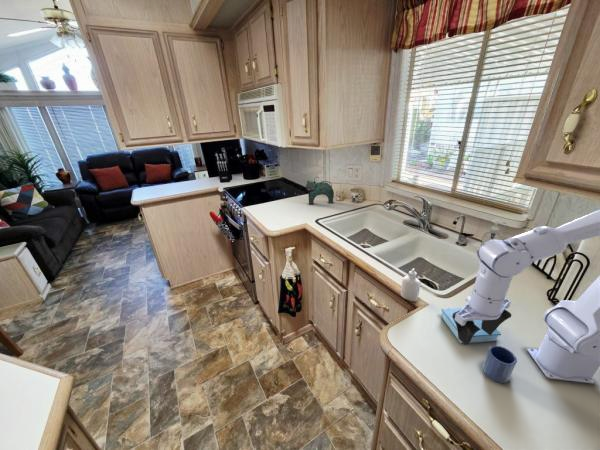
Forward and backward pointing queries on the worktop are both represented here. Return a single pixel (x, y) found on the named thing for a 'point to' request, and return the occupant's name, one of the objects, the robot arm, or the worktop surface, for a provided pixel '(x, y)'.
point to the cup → (499, 364)
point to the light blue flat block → (479, 335)
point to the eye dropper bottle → (410, 286)
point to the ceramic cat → (319, 190)
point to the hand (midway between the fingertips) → (474, 336)
